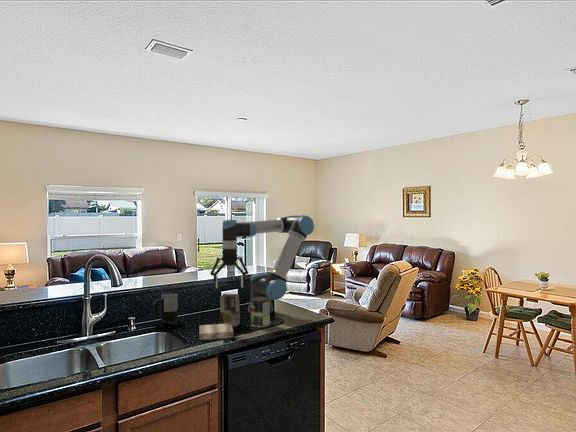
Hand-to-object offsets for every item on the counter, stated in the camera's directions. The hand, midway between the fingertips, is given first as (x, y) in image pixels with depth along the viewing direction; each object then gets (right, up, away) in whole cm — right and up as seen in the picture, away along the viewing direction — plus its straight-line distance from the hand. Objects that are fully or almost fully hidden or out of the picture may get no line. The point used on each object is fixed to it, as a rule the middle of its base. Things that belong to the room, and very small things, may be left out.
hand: (229, 287), depth 199 cm
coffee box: (0, -20, 0) cm, 20 cm away
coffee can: (+17, -20, 0) cm, 26 cm away
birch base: (-4, -20, -16) cm, 26 cm away
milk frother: (-33, -21, +4) cm, 39 cm away
